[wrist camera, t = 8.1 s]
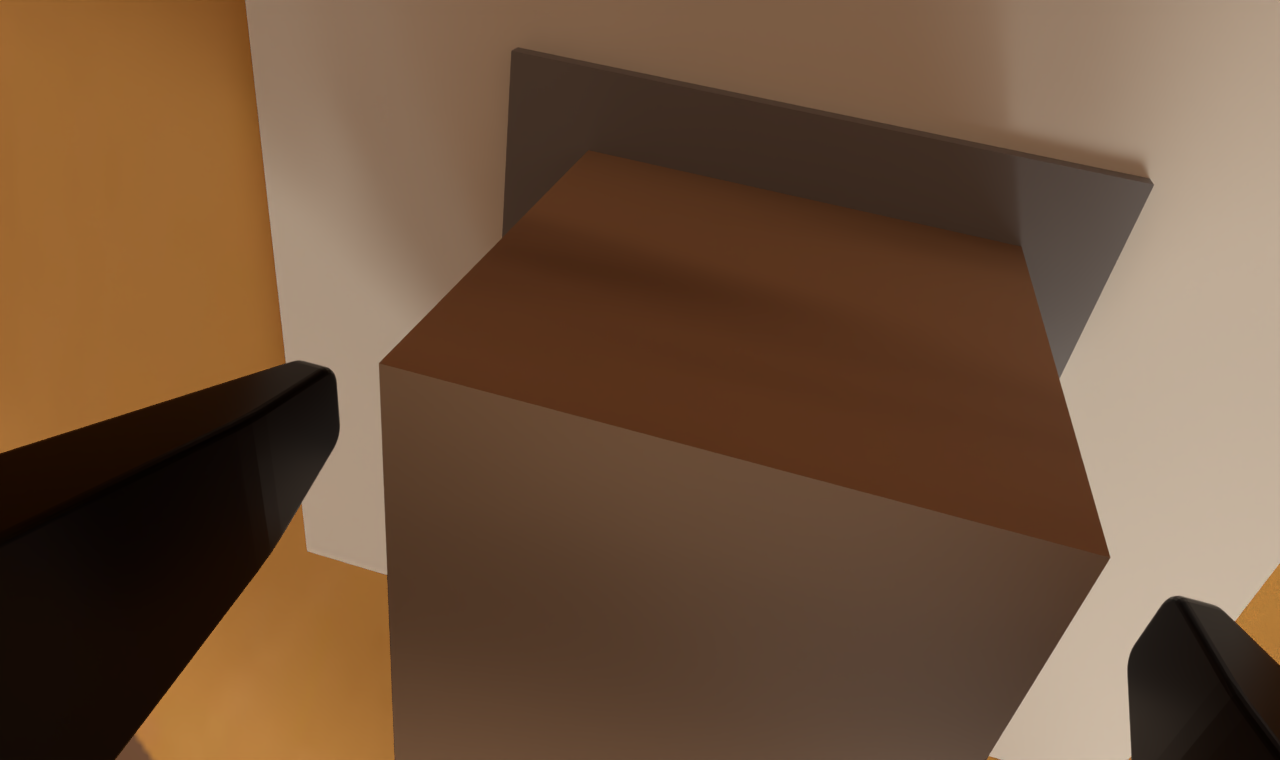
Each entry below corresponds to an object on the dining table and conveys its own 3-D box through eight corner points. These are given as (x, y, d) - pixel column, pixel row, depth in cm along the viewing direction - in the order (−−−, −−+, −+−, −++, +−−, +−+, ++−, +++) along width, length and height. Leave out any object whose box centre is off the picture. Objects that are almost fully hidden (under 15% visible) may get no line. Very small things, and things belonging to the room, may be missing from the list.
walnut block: (888, 565, 12) (881, 929, 8) (555, 473, 13) (394, 768, 9) (1022, 247, 10) (1111, 558, 5) (588, 150, 10) (378, 362, 6)
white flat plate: (1093, 737, 15) (1106, 801, 14) (336, 515, 17) (300, 559, 16) (1642, -32, 8) (1747, -13, 7) (271, -259, 10) (202, -267, 9)
